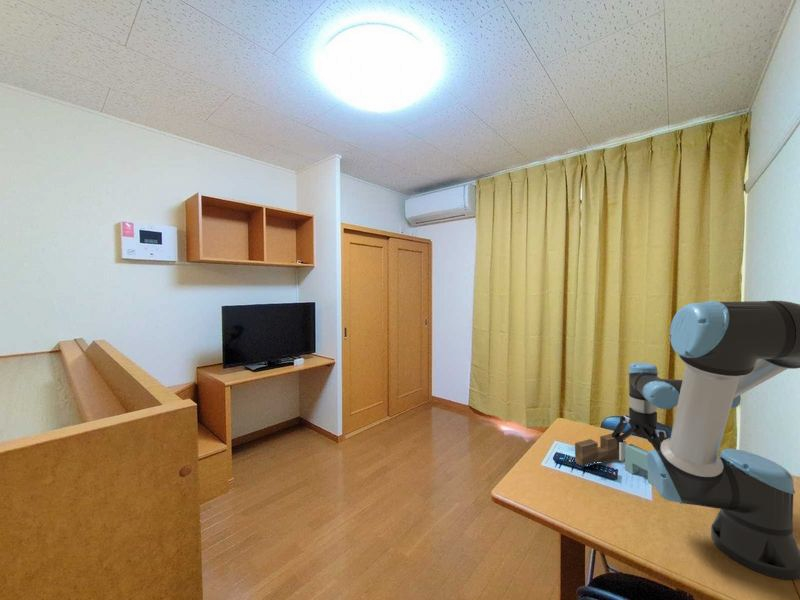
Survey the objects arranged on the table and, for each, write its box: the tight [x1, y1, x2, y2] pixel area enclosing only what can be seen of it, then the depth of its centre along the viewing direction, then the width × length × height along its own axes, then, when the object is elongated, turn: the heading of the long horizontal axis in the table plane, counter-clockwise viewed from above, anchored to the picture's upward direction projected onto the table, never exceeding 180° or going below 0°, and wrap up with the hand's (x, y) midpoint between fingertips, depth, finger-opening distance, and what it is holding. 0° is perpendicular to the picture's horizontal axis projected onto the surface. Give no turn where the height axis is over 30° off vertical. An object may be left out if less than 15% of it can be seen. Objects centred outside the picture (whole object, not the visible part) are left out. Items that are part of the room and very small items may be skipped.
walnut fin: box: [574, 433, 619, 466], centre depth 119 cm, size 3×20×8 cm, turn 109°
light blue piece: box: [624, 443, 655, 487], centre depth 108 cm, size 10×3×9 cm, turn 19°
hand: (642, 470), depth 108 cm, fingers open, 13 cm apart
